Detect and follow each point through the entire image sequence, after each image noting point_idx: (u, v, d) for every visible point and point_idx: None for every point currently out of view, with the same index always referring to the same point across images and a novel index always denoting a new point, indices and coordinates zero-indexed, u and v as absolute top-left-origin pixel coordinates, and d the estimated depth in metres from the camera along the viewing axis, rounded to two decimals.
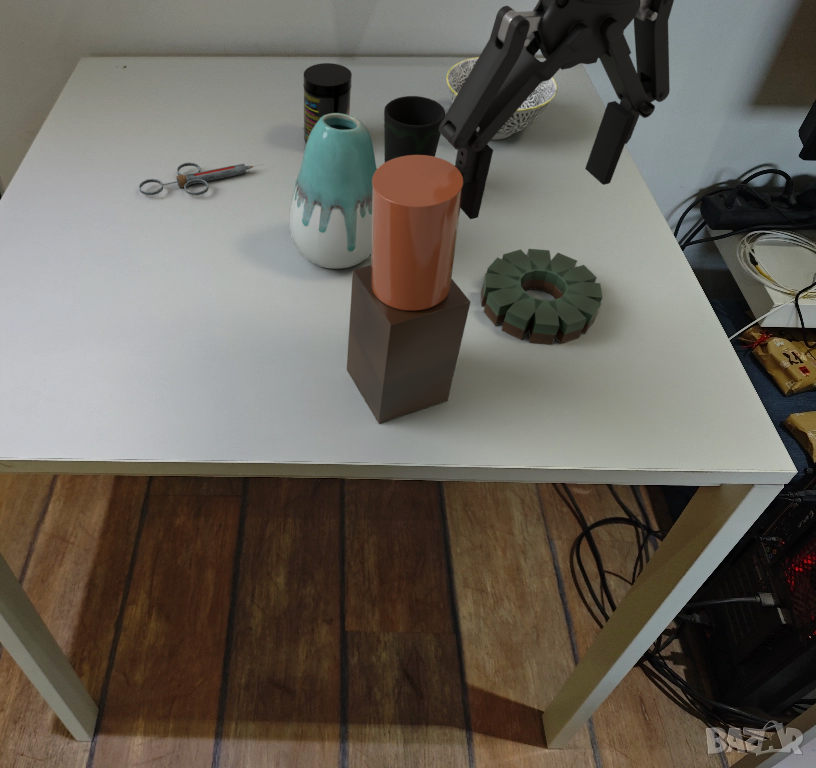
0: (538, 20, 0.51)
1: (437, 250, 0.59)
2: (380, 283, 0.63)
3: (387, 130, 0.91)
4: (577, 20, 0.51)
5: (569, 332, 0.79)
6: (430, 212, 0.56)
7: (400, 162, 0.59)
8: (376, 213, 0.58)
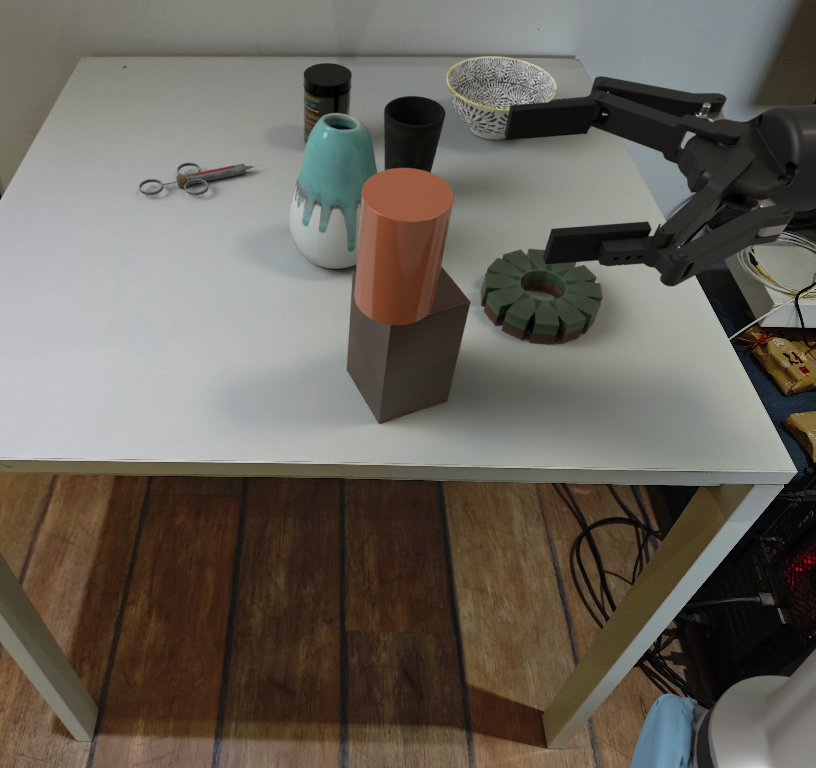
0: None
1: (413, 268, 0.58)
2: (359, 289, 0.62)
3: (387, 130, 0.91)
4: None
5: (569, 332, 0.79)
6: (408, 228, 0.55)
7: (398, 173, 0.58)
8: (360, 219, 0.58)
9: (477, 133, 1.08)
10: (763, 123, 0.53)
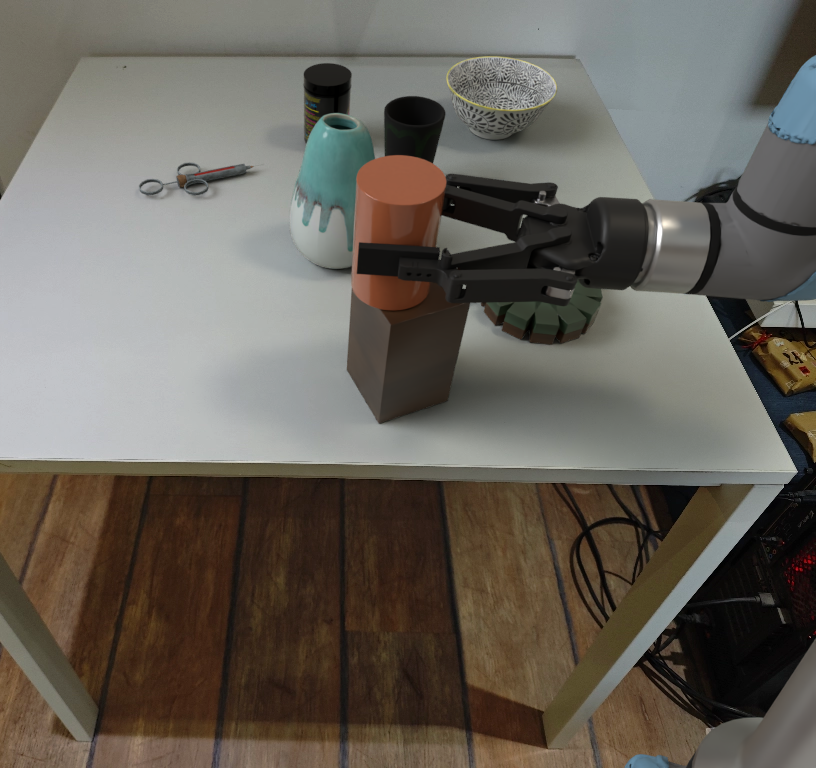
0: None
1: None
2: (354, 274, 0.64)
3: (387, 130, 0.91)
4: None
5: (569, 332, 0.79)
6: (397, 211, 0.56)
7: (395, 160, 0.60)
8: (355, 202, 0.59)
9: (477, 133, 1.08)
10: (589, 209, 0.60)
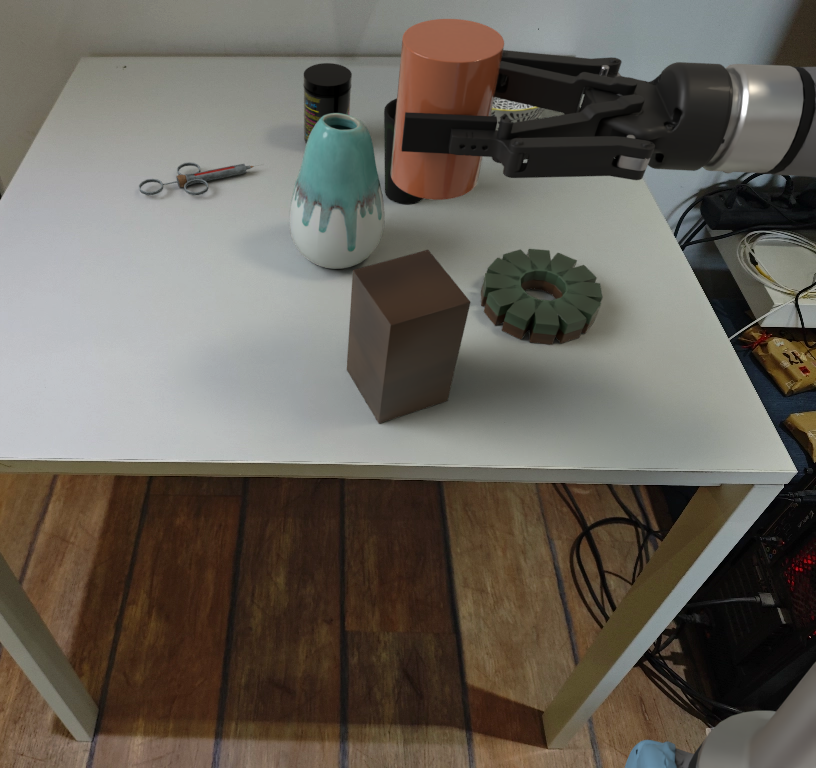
0: None
1: None
2: (395, 159, 0.57)
3: (387, 130, 0.91)
4: None
5: (569, 332, 0.79)
6: (451, 71, 0.49)
7: (444, 23, 0.53)
8: (400, 70, 0.53)
9: None
10: (661, 79, 0.54)
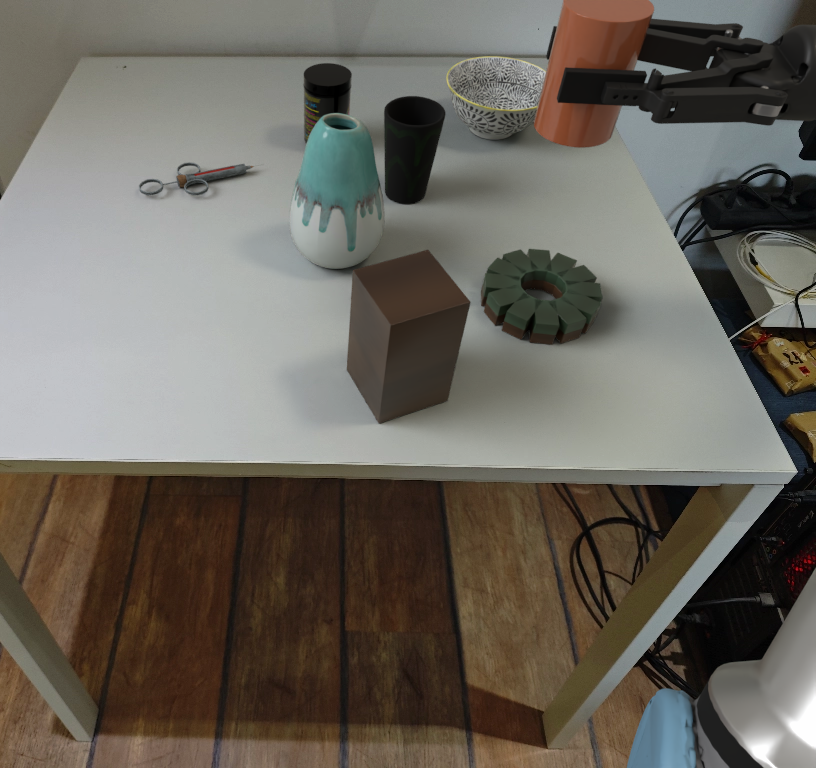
0: None
1: None
2: (543, 112, 0.65)
3: (387, 130, 0.91)
4: None
5: (569, 332, 0.79)
6: (611, 30, 0.57)
7: None
8: (558, 31, 0.61)
9: (477, 133, 1.08)
10: (783, 40, 0.62)
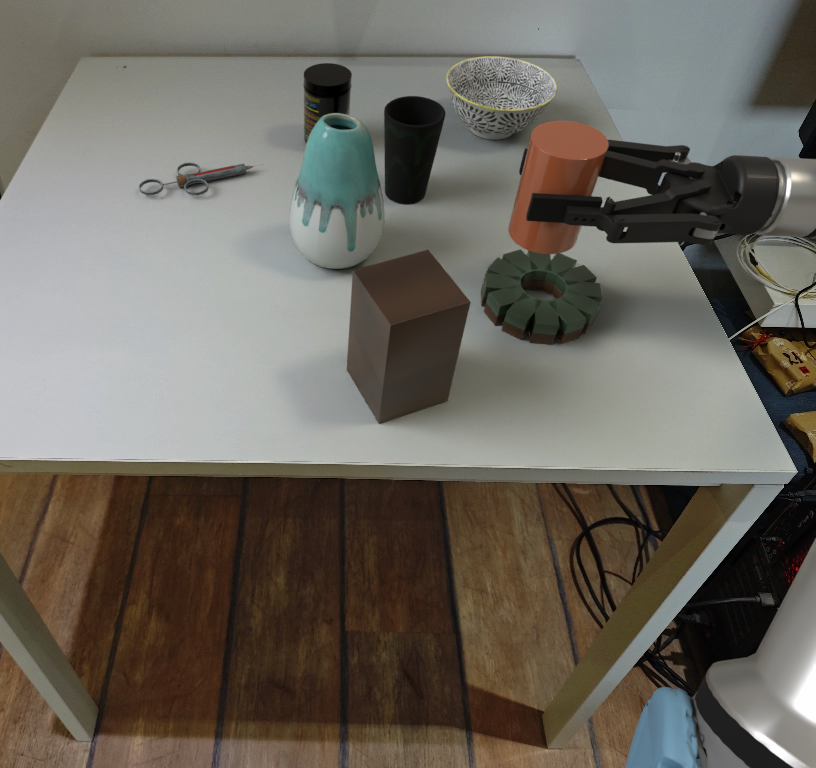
0: None
1: None
2: (516, 223, 0.75)
3: (387, 130, 0.91)
4: None
5: (569, 332, 0.79)
6: (571, 165, 0.67)
7: (560, 124, 0.71)
8: (527, 160, 0.70)
9: (477, 133, 1.08)
10: (722, 166, 0.71)
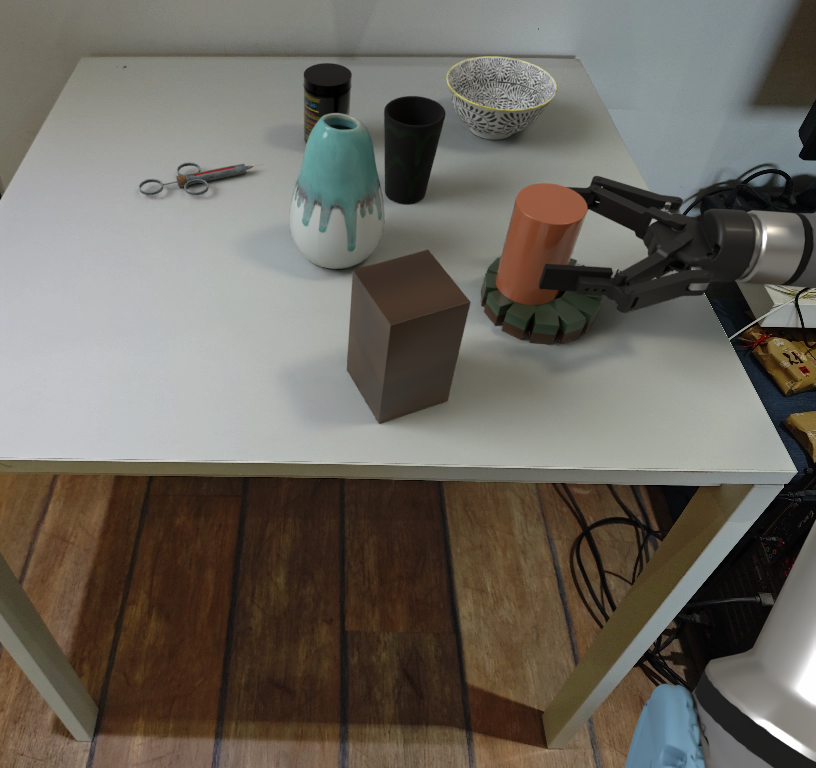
0: None
1: (551, 260, 0.75)
2: (502, 276, 0.80)
3: (387, 130, 0.91)
4: (685, 226, 0.76)
5: (569, 332, 0.79)
6: (552, 229, 0.72)
7: (543, 187, 0.76)
8: (512, 220, 0.76)
9: (477, 133, 1.08)
10: (703, 218, 0.76)
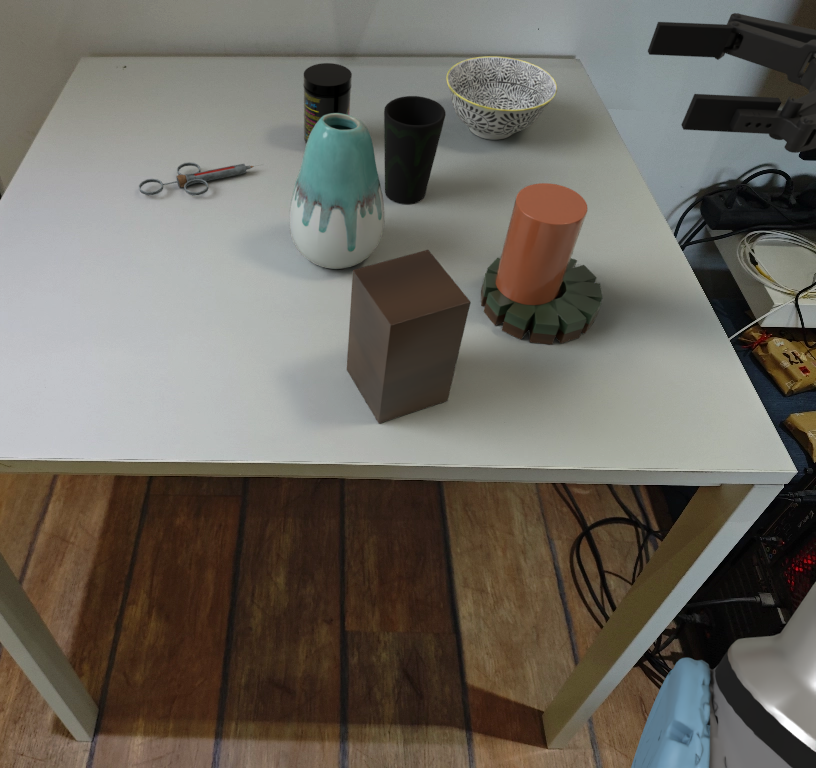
0: None
1: (551, 260, 0.75)
2: (502, 276, 0.80)
3: (387, 130, 0.91)
4: None
5: (569, 332, 0.79)
6: (552, 229, 0.72)
7: (543, 187, 0.76)
8: (512, 220, 0.76)
9: (477, 133, 1.08)
10: None
